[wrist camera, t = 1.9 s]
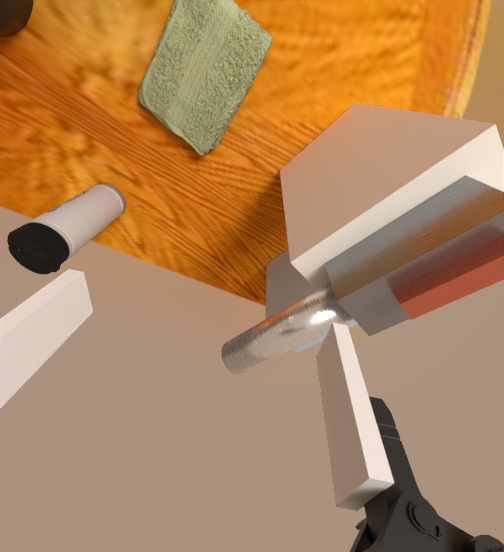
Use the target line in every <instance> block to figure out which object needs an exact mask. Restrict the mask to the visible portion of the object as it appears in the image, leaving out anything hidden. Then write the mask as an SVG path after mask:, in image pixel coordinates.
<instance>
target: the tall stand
mask: <svg viewBox="0 0 504 552" xmlns="http://www.w3.org/2000/svg"><path fill="white" fill-rule="evenodd" d="M465 175H466V176H469V177H471V178H473V179H476V180H478V181H480V182H482V183H485V184H487V185H489V186H491V187H494V188H496V189H498V190H501V191H503V192H504V149H503V146H502V143H501V140H500V137H499V134H498V131H497V127H496V124H491V123H484V122H477V121H471V120H465V119H459V118H452V117H446V116H439V115H433V114H427V113H420V112H414V111H407V110H401V109H394V108H388V107H382V106H375V105H369V104H362V103H355V104H353V105H352V106H351V107H350V108H349V109H348V110H347V111H346V112H344V113H343V114H342V115H341V116H340V117H339V118H338V119H337V120H336V121H334V122H333V123H332V124H331V125H330V126H329V127H328V128H327V129H325V130H324V131H323V132H322V133H321V134H320V135H319V136H318V137H317V138H315V139H314V140H313V141H312V142H311V143H310V144H309V145H308V146H306V147H305V148H304V149H303V150H302V151H301V152H300V153H299V154H298V155H296V156H295V157H294V158H293V159H292V160H291V161H290V162H289V163H288V164H286V165H285V166H284V167H283V168H282V169H281V170H280V178H281V187H282V195H283V204H284V213H285V221H286V230H287V239H288V247H289V256H290V263H291V264H292V265H293V266H294V267H295V268H296V269H297V270H298V271H299V272H300V273H301V274H302V275H303V276H304V277H305V278H306V279H307V280H308V281H309V282H310V283H311V284H312V285H313V287H314V288H315V289H316V290H318V289H319V288H321V287H323V286H325V285H326V284H328V283H330V279H329V275H328V272H327V269H326V266H325V263H326V262H327V261H329V260H331V259H332V258H334V257H335V256H337V255H339V254H340V253H342V252H343V251H345V250H347V249H348V248H350V247H351V246H353V245H355V244H356V243H358V242H359V241H361V240H363V239H364V238H366V237H367V236H369V235H371V234H372V233H374V232H375V231H377V230H379V229H380V228H382V227H383V226H385V225H387V224H388V223H390V222H391V221H393V220H395V219H396V218H398V217H399V216H401V215H403V214H404V213H406V212H407V211H409V210H411V209H412V208H414V207H415V206H417V205H419V204H420V203H422V202H423V201H425V200H427V199H428V198H430V197H431V196H433V195H435V194H436V193H438V192H439V191H441V190H443V189H444V188H446V187H447V186H449V185H451V184H452V183H454V182H455V181H457V180H459V179H460V178H462V177H463V176H465Z"/></svg>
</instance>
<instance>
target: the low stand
mask: <svg viewBox="0 0 504 552" xmlns="http://www.w3.org/2000/svg"><path fill="white" fill-rule="evenodd" d="M314 291H316V289H315V288H314V287H313V285H312V284H311V283H310V282H309V281H308V280H307V279H306V278H305V277H304V276H303V275H302V274H301V273H300V272H299V271H298V270H297V269H296V268H295V267H294V266H293V265H292V264H291V263H290V256H289V249H287V250H286V251H284V252H283V253H281V254H280V255H279V256H277V257H276V258H274V259H273V260H272V261H270V262H269V263H267V272H266V319H268V318H269V317H271V316H273V315H275V314H276V313H278V312H280V311H282V310H283V309H285V308H287V307H288V306H290V305H292V304H294V303H295V302H297V301H299V300H300V299H302V298H304V297H306V296H307V295H309V294H311V293H313V292H314ZM357 324H358V323H357V322H356V321H355V320H354V319H353V320H351V321H349V322H347V323H345V324H343V325H347V326H348V328H350V327H352V326H354V325H357ZM327 333H328V332H326V333H324V334H322V335H320V336H318V337H316V338H314V339H312V340H310V341H308V342H305V343H303V344H301V345H299V346H297V347H295V348H293V349H292V350H293V351H294V352H296V353H297V352H299V351H301V350H303V349H305V348H308V347H310V346H312V345H314V344H316V343H318V342H320V341H323V340H324V339H325V337H326V335H327Z"/></svg>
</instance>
